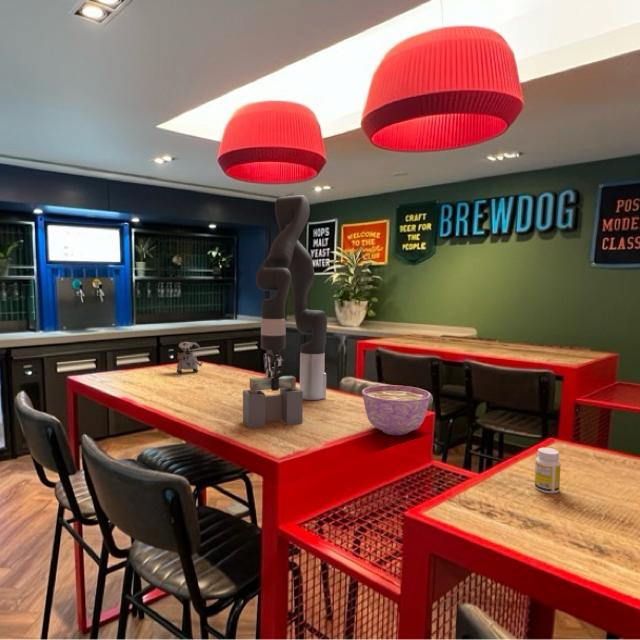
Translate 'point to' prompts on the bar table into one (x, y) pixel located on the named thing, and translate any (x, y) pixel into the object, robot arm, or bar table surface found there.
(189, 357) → the figurine
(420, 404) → the bowl of food
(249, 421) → the grey hollow block
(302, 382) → the robot arm
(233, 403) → the bar table surface
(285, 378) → the rail
